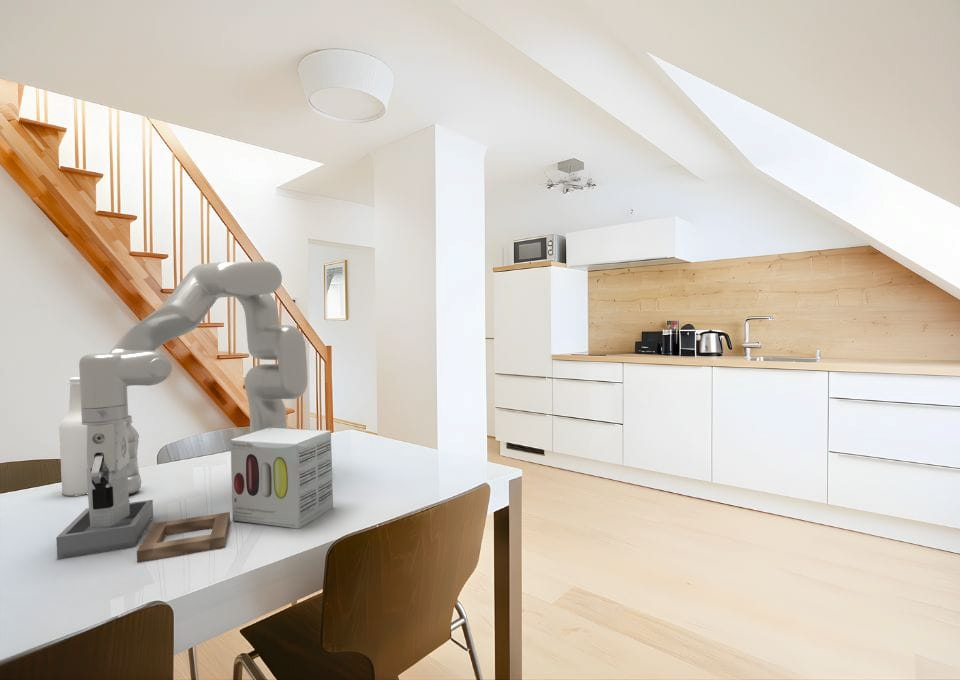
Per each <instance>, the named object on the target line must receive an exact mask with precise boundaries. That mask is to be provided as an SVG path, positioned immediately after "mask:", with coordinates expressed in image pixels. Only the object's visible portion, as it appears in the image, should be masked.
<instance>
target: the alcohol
mask: <svg viewBox="0 0 960 680" xmlns="http://www.w3.org/2000/svg"><path fill="white" fill-rule="evenodd" d="M69 385H70V387H69V400H68V401H69V405H68V406H69V407H68V412H67V414H66V415H65V416H64V418H63V419H61V422H60V424H59V427H58V428H59V429H58V430H59V433H58V434H59V451H60V452H59V453H60V472H61V473H60V476H61V492H62V494H63V495H67V496H66V497H76V496H75V495H81V496H83V495H82V494H87V493H88V484H87V425H82V415H81V394H80V376H74V377H70V378H69ZM87 495H88V494H87Z"/></svg>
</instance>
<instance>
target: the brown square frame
mask: <svg viewBox="0 0 960 680" xmlns="http://www.w3.org/2000/svg"><path fill="white" fill-rule="evenodd" d="M230 524H231V512H230V511H228V512H227V511H226V512H221V513H220V512H219V513H214V514H206V515H200V516H193V517H186V518H180V519H173V520H166V521H159V522H154V523H153V524H152V525H151V527H150V529H149V530H148V532H147V533H146V535H145V537H144V538H143V540H142V542H141V544H140V545H139V546H138V549H137V550H136V562H137V563H140V562H147V561H150V560H157V559H163V558H170V557H175V556H181V555H186V554H187V555H188V554H193V553H199V552H204V551H210V550H217V549H222V548H225V546H226V542H227V539H228V538H227V537H228V533H229V529H230ZM208 529H211V532H210V533H209V534H204V535H198V536H197V535H196V536H191V537H184V538H178V539H173V540H166V541H164V540H165V538H166V536H168V535H167V534H170V535H175V534H174V533H177V534H182V532H183V533H188V531H190V532H195V530H196V531H202V530H208ZM165 535H166V536H165ZM164 537H165V538H164ZM163 539H164V540H163ZM162 541H163V542H162Z"/></svg>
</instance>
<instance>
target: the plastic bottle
mask: <svg viewBox="0 0 960 680" xmlns="http://www.w3.org/2000/svg"><path fill="white" fill-rule="evenodd" d="M132 419H133V418H132V415H129V414H128V420H126V421H125V423H126V429H127V437H128V448H129V462H128V463H127V476H128V493H129V495H132V494H134V493H137V492H139V491H140V489H141V487H142V477H141V475H140V470H139V464H138V463H139V462H138V449H139V438H140V434H139V432H138V430H136V429H135V427H134V426H132V424H133V420H132Z"/></svg>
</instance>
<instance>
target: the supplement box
mask: <svg viewBox="0 0 960 680" xmlns="http://www.w3.org/2000/svg"><path fill="white" fill-rule="evenodd" d="M332 449H333V448H332V430H329V429H328V430H324V429H323V430H322V429H305V428H304V429H302V428H287V429H286V428H267V429H263V430H260V431H256V432H253V433H250V432H249V433H247V434H244V435H241V436H238V437H234V438H231V439H230V463H231V466H230V470H231V472H230V473H231V501H232V503H231V504H232V505H231V506H232V521H233V522H243V523H253V524H258V525H267V526H274V527H275V526H276V527H283V528H290V529H295V530H296V529H301V528H303V527H305V526H306V525H308V524H310V523H312V522H313V521H314V520H317V518H319V517H320V516H322V515H324V514H325V513H327V512H328V511H329V510H331V509H332V508H334V488H333V487H334V486H333V485H334V484H333V457H332V456H333V455H332Z"/></svg>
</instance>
